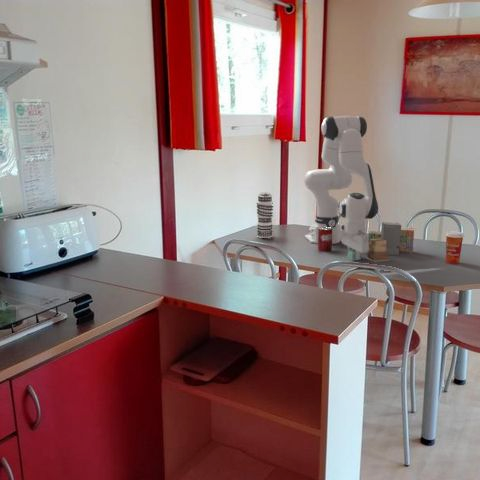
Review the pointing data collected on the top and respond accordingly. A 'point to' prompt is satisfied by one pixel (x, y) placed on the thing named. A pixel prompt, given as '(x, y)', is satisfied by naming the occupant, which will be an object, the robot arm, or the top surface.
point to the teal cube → (352, 255)
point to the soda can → (325, 239)
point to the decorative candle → (264, 215)
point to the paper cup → (453, 246)
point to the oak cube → (377, 245)
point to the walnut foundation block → (377, 255)
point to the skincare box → (391, 237)
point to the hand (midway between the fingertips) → (354, 257)
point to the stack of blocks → (405, 238)
